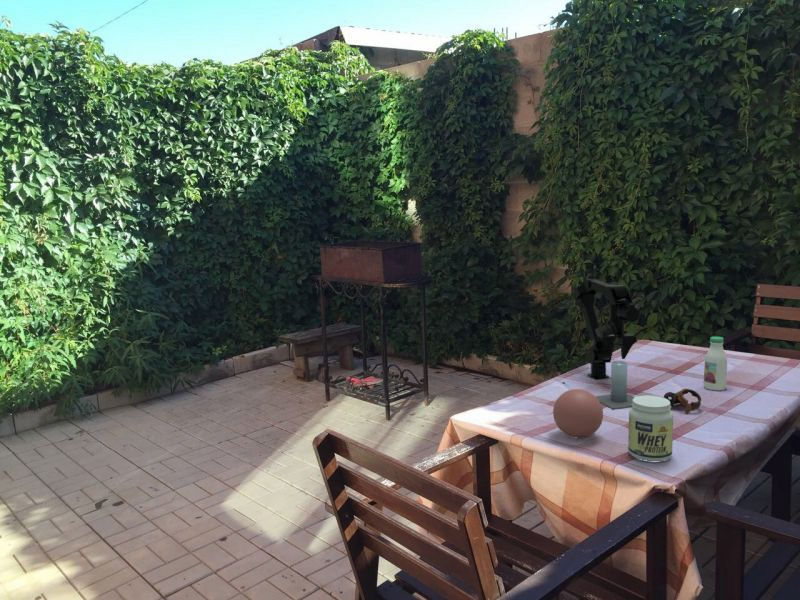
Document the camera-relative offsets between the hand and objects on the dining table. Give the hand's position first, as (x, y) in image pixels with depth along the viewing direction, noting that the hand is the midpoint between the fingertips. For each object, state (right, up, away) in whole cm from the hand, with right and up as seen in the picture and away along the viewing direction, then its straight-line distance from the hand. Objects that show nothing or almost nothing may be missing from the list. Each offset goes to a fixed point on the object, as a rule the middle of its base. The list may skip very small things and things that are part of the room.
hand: (616, 356), depth 253 cm
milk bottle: (+36, -12, -6) cm, 38 cm away
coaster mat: (-5, -15, -17) cm, 23 cm away
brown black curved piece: (+14, -17, -27) cm, 35 cm away
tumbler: (-5, -15, -17) cm, 23 cm away
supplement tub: (-12, -24, -64) cm, 69 cm away
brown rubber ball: (-27, -21, -46) cm, 57 cm away
